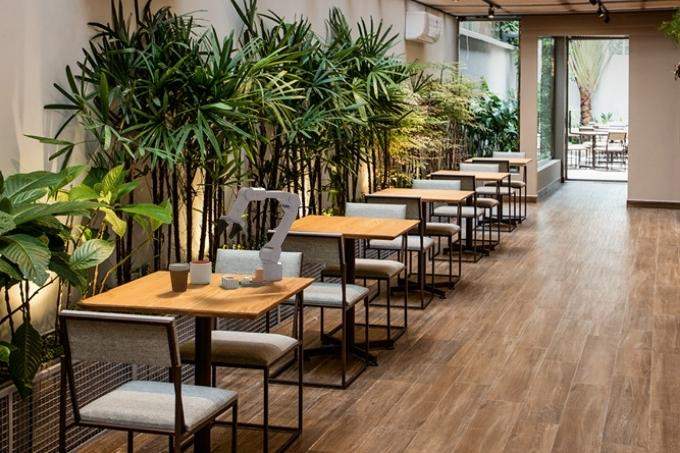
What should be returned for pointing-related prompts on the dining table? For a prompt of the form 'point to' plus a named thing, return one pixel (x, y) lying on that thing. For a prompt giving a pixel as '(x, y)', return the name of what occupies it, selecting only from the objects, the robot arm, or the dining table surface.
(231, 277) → the pitch board
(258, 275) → the figure
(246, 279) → the ball
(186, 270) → the disposable coffee cup
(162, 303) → the dining table surface
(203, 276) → the cup
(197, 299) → the dining table surface
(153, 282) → the dining table surface
